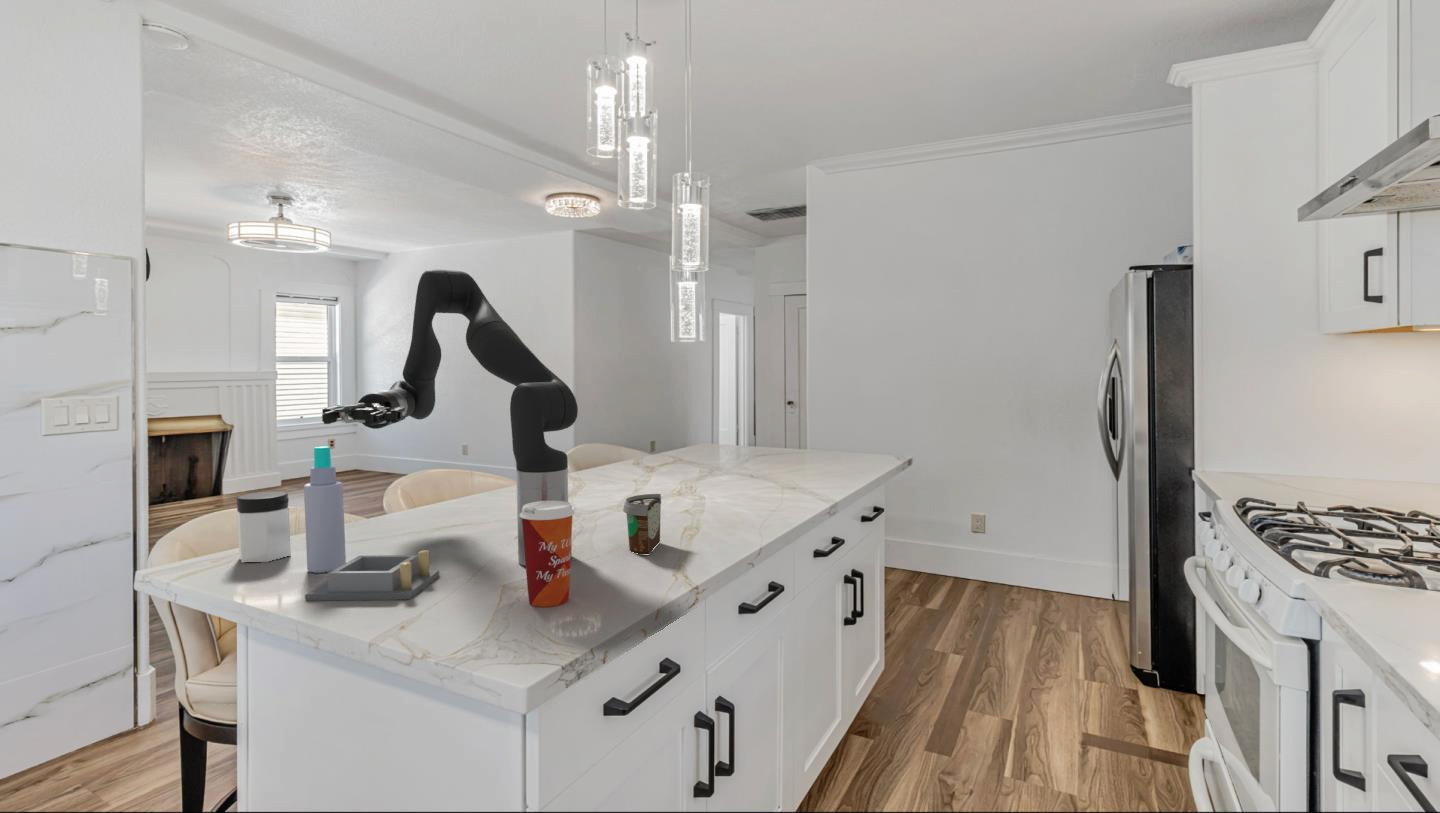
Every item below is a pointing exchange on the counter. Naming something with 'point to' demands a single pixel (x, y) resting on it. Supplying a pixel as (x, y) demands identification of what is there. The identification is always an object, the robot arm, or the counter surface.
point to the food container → (643, 522)
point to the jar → (263, 526)
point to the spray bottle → (324, 515)
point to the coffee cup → (547, 551)
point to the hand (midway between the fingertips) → (348, 419)
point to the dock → (377, 578)
